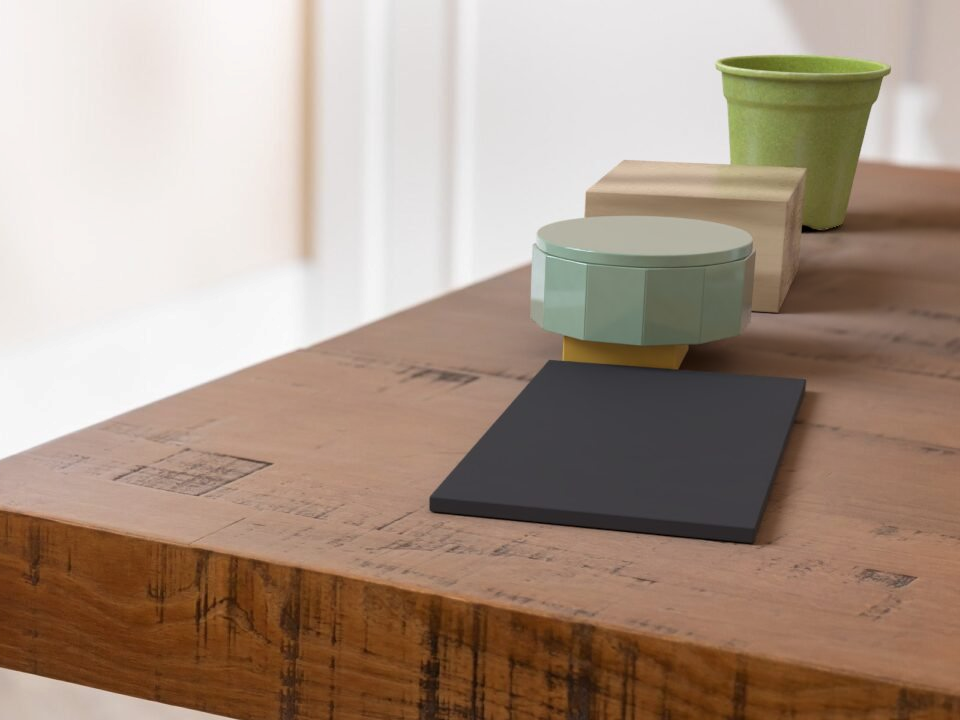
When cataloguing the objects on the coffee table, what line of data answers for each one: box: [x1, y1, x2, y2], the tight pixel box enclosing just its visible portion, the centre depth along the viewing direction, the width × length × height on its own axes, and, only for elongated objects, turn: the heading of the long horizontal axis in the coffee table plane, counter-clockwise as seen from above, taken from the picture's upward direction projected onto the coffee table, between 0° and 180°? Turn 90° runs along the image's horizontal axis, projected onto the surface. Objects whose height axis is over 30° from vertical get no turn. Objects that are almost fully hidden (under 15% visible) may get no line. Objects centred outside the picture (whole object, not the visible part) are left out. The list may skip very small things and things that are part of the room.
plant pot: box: [714, 54, 892, 230], centre depth 103 cm, size 9×9×9 cm
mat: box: [428, 359, 807, 544], centre depth 65 cm, size 18×10×1 cm, turn 163°
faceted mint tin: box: [529, 216, 756, 346], centre depth 75 cm, size 9×9×4 cm
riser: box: [583, 159, 807, 314], centre depth 89 cm, size 10×9×5 cm
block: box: [561, 335, 690, 369], centre depth 75 cm, size 4×4×4 cm
